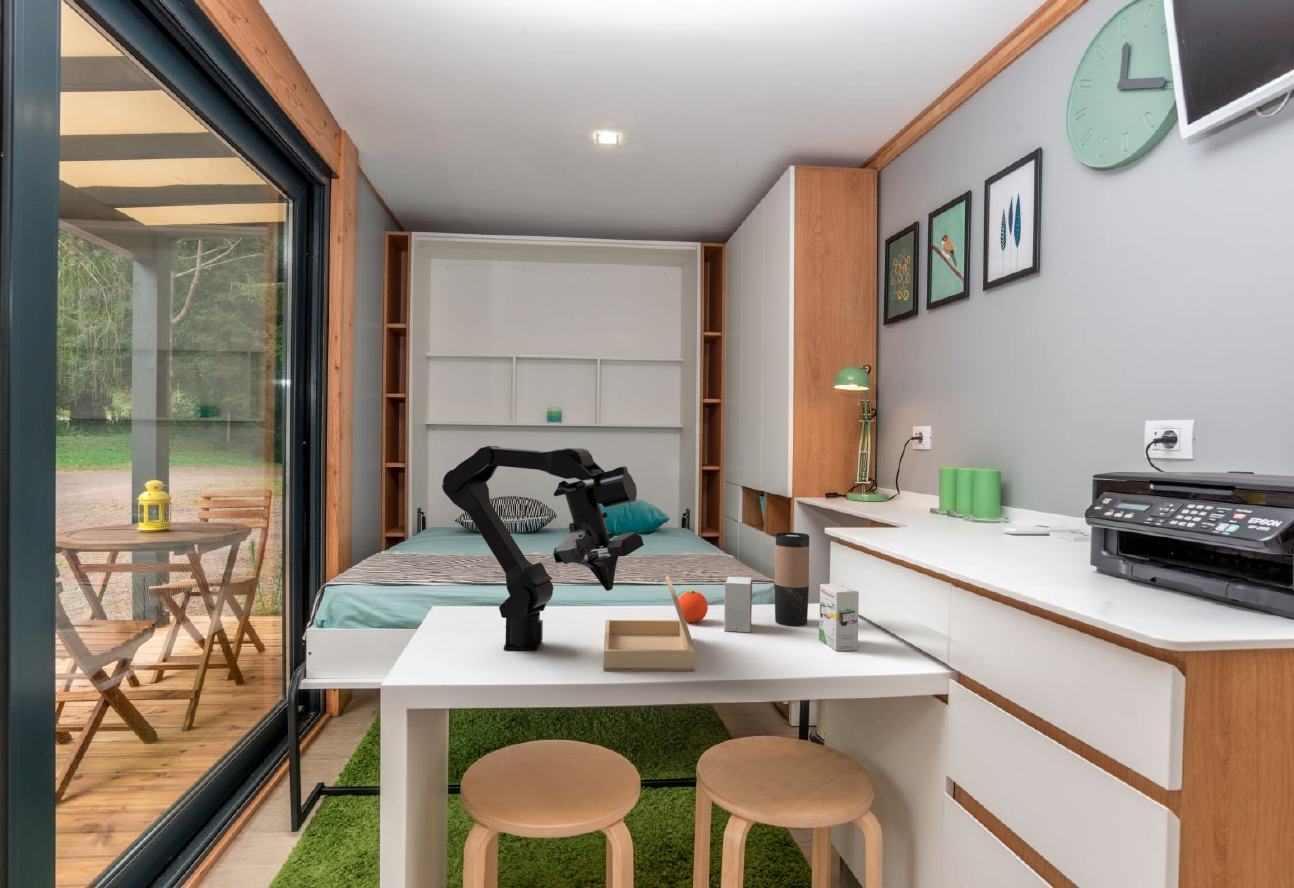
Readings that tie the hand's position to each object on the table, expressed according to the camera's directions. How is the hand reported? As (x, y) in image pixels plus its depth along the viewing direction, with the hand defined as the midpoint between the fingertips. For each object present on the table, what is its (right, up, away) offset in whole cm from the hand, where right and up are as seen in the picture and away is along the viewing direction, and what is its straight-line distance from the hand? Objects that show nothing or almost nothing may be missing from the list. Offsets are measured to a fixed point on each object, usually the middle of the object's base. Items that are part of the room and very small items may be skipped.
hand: (609, 589), depth 134 cm
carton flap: (+15, -8, 0) cm, 17 cm away
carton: (+7, -12, 0) cm, 14 cm away
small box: (+27, -13, +20) cm, 36 cm away
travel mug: (+40, -13, +25) cm, 49 cm away
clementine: (+17, -12, +24) cm, 32 cm away
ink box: (+46, -13, +7) cm, 48 cm away
